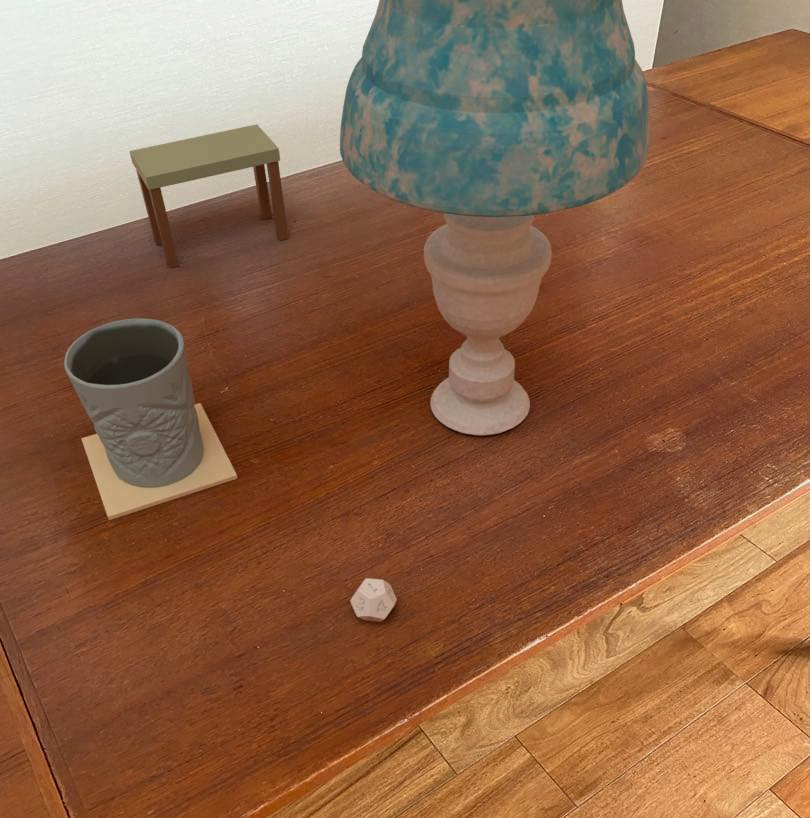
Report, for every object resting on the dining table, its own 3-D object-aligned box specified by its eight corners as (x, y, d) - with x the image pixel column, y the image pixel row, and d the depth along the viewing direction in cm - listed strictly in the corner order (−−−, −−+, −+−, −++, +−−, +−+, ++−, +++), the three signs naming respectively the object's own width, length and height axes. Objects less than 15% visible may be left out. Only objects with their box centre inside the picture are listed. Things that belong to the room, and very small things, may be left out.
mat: (82, 441, 84) (81, 438, 84) (201, 406, 88) (200, 402, 87) (109, 520, 77) (107, 516, 77) (237, 478, 80) (237, 474, 80)
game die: (383, 588, 71) (382, 563, 69) (404, 619, 69) (403, 595, 66) (344, 604, 70) (341, 580, 68) (365, 636, 68) (362, 613, 65)
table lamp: (499, 528, 75) (541, 8, 46) (311, 414, 86) (247, -62, 57) (647, 398, 87) (756, -83, 57) (464, 313, 98) (477, -126, 69)
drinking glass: (158, 508, 77) (122, 401, 68) (79, 468, 81) (36, 362, 72) (232, 444, 83) (208, 337, 74) (155, 409, 87) (124, 304, 78)
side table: (152, 241, 111) (129, 150, 103) (270, 212, 116) (257, 124, 107) (168, 269, 106) (145, 177, 98) (290, 239, 111) (278, 148, 102)
